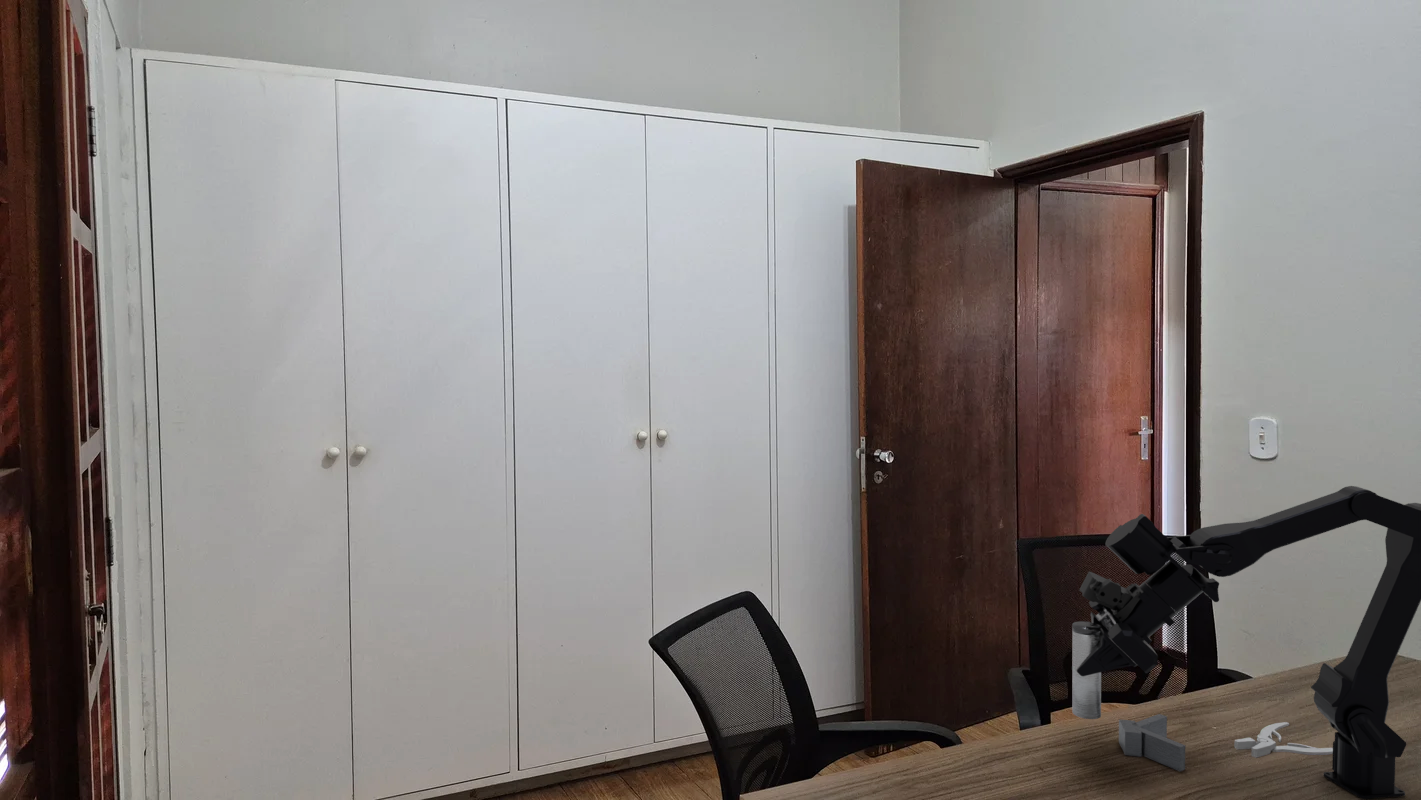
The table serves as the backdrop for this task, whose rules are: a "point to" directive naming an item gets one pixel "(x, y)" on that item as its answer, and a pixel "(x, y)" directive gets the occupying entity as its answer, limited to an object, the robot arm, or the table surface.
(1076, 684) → the axle
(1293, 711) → the table surface
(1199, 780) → the table surface
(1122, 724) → the v block
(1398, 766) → the table surface
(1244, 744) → the pliers
